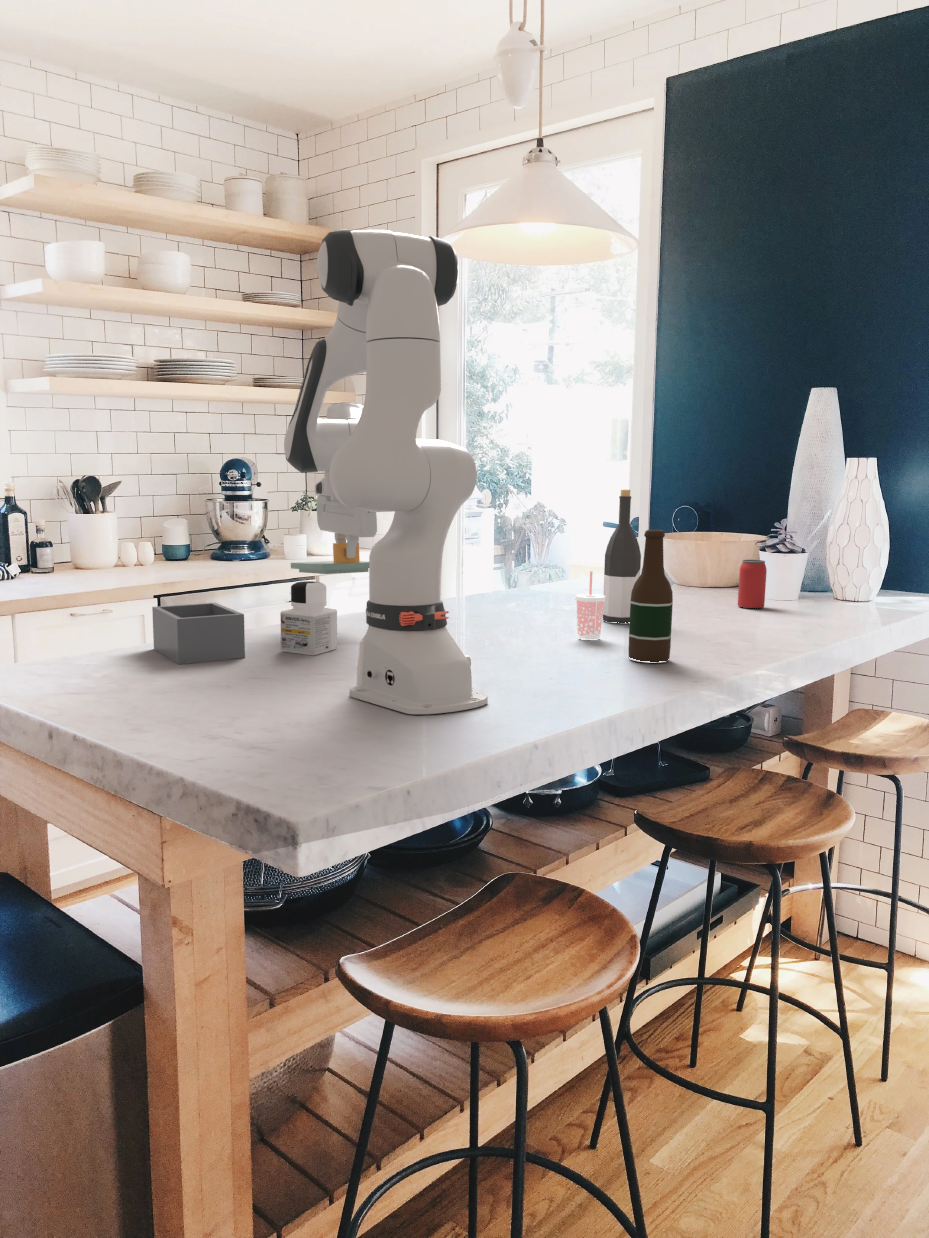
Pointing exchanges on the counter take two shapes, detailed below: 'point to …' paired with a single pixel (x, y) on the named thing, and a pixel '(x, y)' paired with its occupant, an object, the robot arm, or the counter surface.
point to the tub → (198, 632)
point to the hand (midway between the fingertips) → (346, 556)
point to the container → (308, 621)
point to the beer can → (752, 584)
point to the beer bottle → (651, 605)
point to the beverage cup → (589, 614)
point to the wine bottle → (621, 566)
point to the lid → (334, 563)
